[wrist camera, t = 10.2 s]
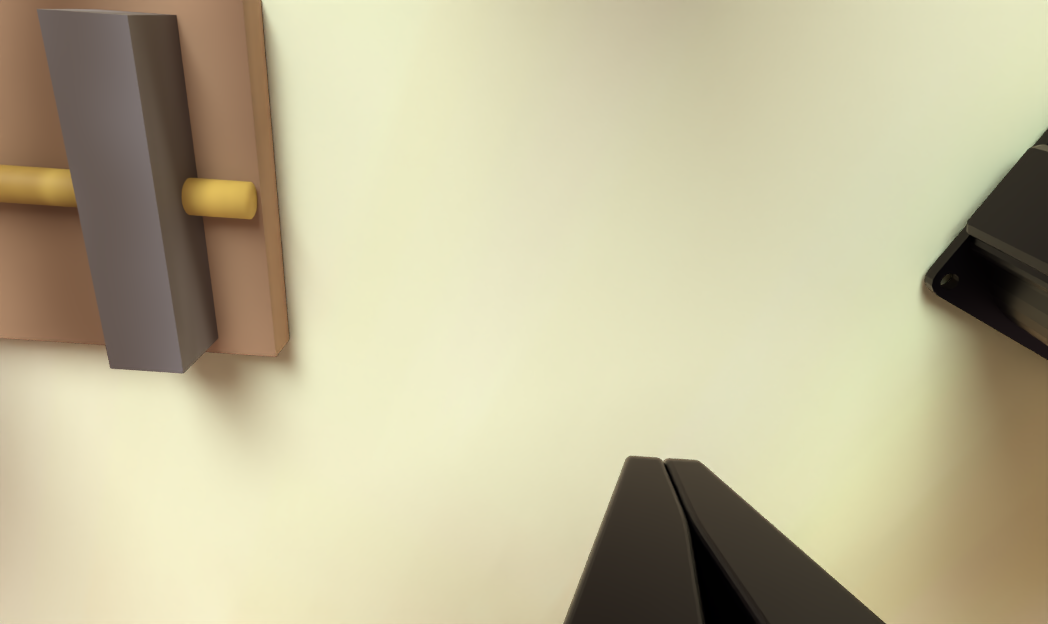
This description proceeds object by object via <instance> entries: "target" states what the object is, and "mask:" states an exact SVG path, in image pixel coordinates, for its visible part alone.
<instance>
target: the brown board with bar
mask: <svg viewBox="0 0 1048 624" xmlns="http://www.w3.org/2000/svg"><path fill="white" fill-rule="evenodd" d="M0 338H9V339H24V340H38V341H53V342H67V343H82V344H97V345H106V349H107V354H108V359H109V364H110V368H112V369H127V370H141V371H156V372H170V373H184V372H185V371H186V370H187V369H188V368H189V367H190V366H191V365H192V364H193V363H194V362H195V361H196V360H197V359H198V358H199V357H200V356H201V355H202V354H203V353H204V352H214V353H228V354H243V355H258V356H272V357H276V356H277V355H278V353H279V352H280V351H281V350H282V348H283V347H284V346H285V344H286V343H287V342H288V341H289V330H288V318H287V306H286V294H285V282H284V270H283V258H282V246H281V235H280V223H279V211H278V199H277V187H276V175H275V163H274V151H273V139H272V127H271V115H270V104H269V92H268V80H267V68H266V56H265V44H264V32H263V20H262V8H261V0H0Z"/></svg>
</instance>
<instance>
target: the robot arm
mask: <svg viewBox="0 0 1048 624" xmlns="http://www.w3.org/2000/svg"><path fill="white" fill-rule="evenodd" d="M947 274H951V278H950V280H949V281H948V282H947V283H946V284H943V285H941V280H942V278H943V277H944V276H946V275H947ZM925 283H926V286H927V287H928V288H929V289H930V290H931V291H932V292H933V293H935V294H936V295H938V296H939V297H941V298H943V299H944V300H946V301H948V302H950V303H951V304H953V305H955V306H956V307H958V308H960V309H962V310H963V311H965V312H967V313H968V314H970V315H972V316H974V317H975V318H977V319H979V320H980V321H982V322H984V323H986V324H987V325H989V326H991V327H992V328H994V329H996V330H998V331H999V332H1001V333H1003V334H1004V335H1006V336H1008V337H1010V338H1011V339H1013V340H1015V341H1016V342H1018V343H1020V344H1022V345H1023V346H1025V347H1027V348H1028V349H1030V350H1032V351H1034V352H1035V353H1037V354H1039V355H1040V356H1042V357H1044V358H1046V359H1047V360H1048V129H1047V130H1046V132H1045V133H1044V134H1043V135H1042V136H1041V138H1040V139H1039V140H1038V141H1037V142H1036V143H1035V145H1034V146H1033V147H1031V148H1029V149H1028V150H1027V151H1026V152H1025V154H1024V155H1023V156H1022V157H1021V158H1020V160H1019V161H1018V162H1017V163H1016V164H1015V165H1014V167H1013V168H1012V169H1011V170H1010V171H1009V173H1008V174H1007V175H1006V176H1005V177H1004V179H1003V180H1002V181H1001V182H1000V183H999V184H998V186H997V187H996V188H995V189H994V190H993V192H992V193H991V194H990V195H989V196H988V197H987V199H986V200H985V201H984V202H983V203H982V205H981V206H980V207H979V208H978V209H977V211H976V212H975V213H974V214H973V215H972V216H971V218H970V219H969V220H968V222H967V225H966V226H965V228H964V229H963V230H962V231H961V232H960V233H959V235H958V236H957V237H956V238H955V239H954V241H953V242H952V243H951V244H950V245H949V246H948V248H947V249H946V250H945V251H944V252H943V254H942V255H941V256H940V257H939V258H938V259H937V261H936V262H935V263H934V264H933V265H932V267H931V268H930V269H929V271H928V272H927V274H926V277H925ZM563 624H886V623H884V622H883V621H882V620H881V619H880V618H879V617H878V616H876V615H875V614H874V613H873V612H872V611H871V610H870V609H868V608H867V607H866V606H865V605H864V604H863V603H862V602H860V601H859V600H858V599H857V598H856V597H855V596H854V595H852V594H851V593H850V592H849V591H848V590H847V589H846V588H844V587H843V586H842V585H841V584H840V583H839V582H838V581H836V580H835V579H834V578H833V577H832V576H831V575H829V574H828V573H827V572H826V571H825V570H824V569H823V568H821V567H820V566H819V565H818V564H817V563H816V562H815V561H813V560H812V559H811V558H810V557H809V556H808V555H807V554H805V553H804V552H803V551H802V550H801V549H800V548H799V547H797V546H796V545H795V544H794V543H793V542H792V541H791V540H789V539H788V538H787V537H786V536H785V535H784V534H783V533H781V532H780V531H779V530H778V529H777V528H776V527H775V526H773V525H772V524H771V523H770V522H769V521H768V520H767V519H765V518H764V517H763V516H762V515H761V514H760V513H759V512H757V511H756V510H755V509H754V508H753V507H752V506H751V505H749V504H748V503H747V502H746V501H745V500H744V499H743V498H741V497H740V496H739V495H738V494H737V493H736V492H735V491H733V490H732V489H731V488H730V487H729V486H728V485H726V484H725V483H724V482H723V481H722V480H721V479H720V478H718V477H717V476H716V475H715V474H714V473H713V472H712V471H710V470H709V469H708V468H707V467H706V466H705V465H704V464H702V463H701V462H699V461H697V460H688V459H671V458H668V459H666V460H664V461H662V460H661V459H660V458H656V457H642V456H629V457H627V458H626V460H625V462H624V465H623V468H622V470H621V473H620V476H619V478H618V481H617V484H616V486H615V489H614V491H613V494H612V497H611V499H610V502H609V505H608V507H607V510H606V513H605V515H604V518H603V520H602V523H601V526H600V528H599V531H598V534H597V536H596V539H595V542H594V544H593V547H592V549H591V552H590V555H589V557H588V560H587V563H586V565H585V568H584V571H583V573H582V576H581V578H580V581H579V584H578V586H577V589H576V592H575V594H574V597H573V600H572V602H571V605H570V607H569V610H568V613H567V615H566V618H565V621H564V623H563Z"/></svg>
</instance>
